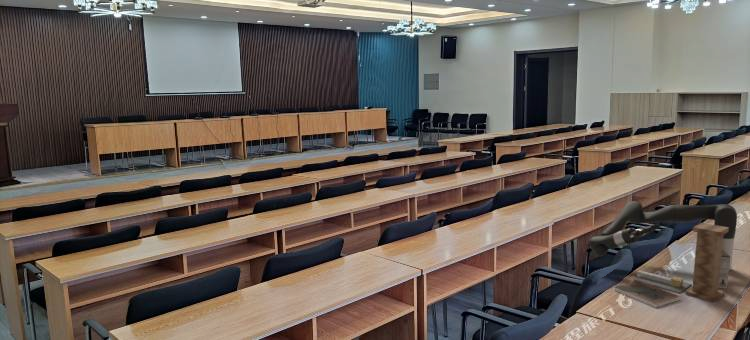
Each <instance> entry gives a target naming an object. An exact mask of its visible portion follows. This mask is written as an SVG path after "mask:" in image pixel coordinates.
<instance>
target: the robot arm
mask: <svg viewBox="0 0 750 340" xmlns="http://www.w3.org/2000/svg"><path fill="white" fill-rule="evenodd" d="M702 220H703V221H705V220H707V221H708V220H713V222H714V224H713V225H718V226H723V227H729V230H728V232H727V233H726V234H724V235H723V245H722V250H724V251H725V252H726V253H727V254H728V255H729V256H730V264H729V272H730V271H732V265H733V257H734V256H733V255H734V246H735V236H736V232H737V222H738V221H737V220H738V213H737V210H736V208H735V207H733V206H732V205H731V204H727V203H725V204H723V203H722V204H711V205H697V204H695V205H691V204H689V205H688V204H670V205H667V206H665V207H662V208H660V209H657V210H655V211H646V212H645V211H644V208H643V204H642V203H641V202H639V201H637V200H633V201H632V200H631V201H629V202H627V203H626V204H625V205H624V206H623V207H622V209H621V210H620V212H619V213H618V215H617V216H616V217H615V218H614V219H613V221H612V222H611V223H610V224H609V225H608V226H607V227H606V228H605V229H604V230H603V231H602V232H601V233H600V235H596V236H592V237H590V238H589V240H588V241H587V245H588V247H589V248H590V249H591V251H592V252H593V253H594V255H595V256H597V257H603V256H605V255H606V254H607V253H608V252H609V249H611V250H612V249H617V248H620V247H624V246H627V245H631V244H634V243H637V242H638V240H639V238H641V237H643V236H645V235H647V234H650V233H653V232H654V231H655V230H658V229H661V225H660V224H659V223H690V222H696V221H702ZM627 223H630V224H648V223H656V224H651V225H648V226H644V227H639V228H637V229H635V228H633V227H628V228H625V226H626V225H627Z"/></svg>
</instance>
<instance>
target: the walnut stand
mask: <svg viewBox="0 0 750 340" xmlns="http://www.w3.org/2000/svg"><path fill="white" fill-rule="evenodd" d="M728 230H729V227H723V226H718V225H714V224H712V223H706V222H700V223H698V224H697V225H695V226H693V227H692V232H694V233H697V234H696V243H695V254H694V265H693V266H694V267H693V278H692V285H691V286H690V287H688V288H687V289H686V290H685V295H686V296H690V297H695V298H698V299H701V300H704V301H709V302H713V303H716V302H717V301H719V299H720V298H721V297H723V296H724V295H725V291H724V290H721V289H719V288H718V285H719V275H720V265H721V255H722V245H723V235H724V234H726V233H727V232H728Z"/></svg>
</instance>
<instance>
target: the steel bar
mask: <svg viewBox="0 0 750 340" xmlns="http://www.w3.org/2000/svg"><path fill="white" fill-rule="evenodd" d="M638 277H641V278H645V279H649V280H652V281H656V282H660V283H664V284H667V285H670V286H673V287H676V288H681V287H682V286H683V282H684V278H681V277H677V276H673V277H672V278H670V277H666V276H663V275H660V274H654V273H650V272H647V271H643V270H638V271H636V278H638Z"/></svg>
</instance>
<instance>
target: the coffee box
mask: <svg viewBox="0 0 750 340" xmlns="http://www.w3.org/2000/svg"><path fill="white" fill-rule="evenodd" d="M729 264H730V256H729V255H728V254H727V253H726V252H725V251H724V250H722V255H721V265H720V275H719V285H718V289H727V288H728V282H729V281H728V280H729V272H730V271H729Z"/></svg>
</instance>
